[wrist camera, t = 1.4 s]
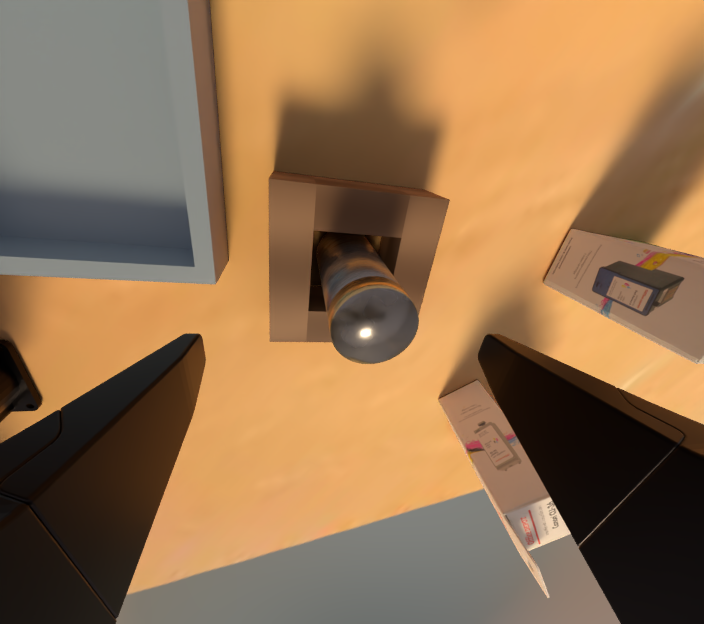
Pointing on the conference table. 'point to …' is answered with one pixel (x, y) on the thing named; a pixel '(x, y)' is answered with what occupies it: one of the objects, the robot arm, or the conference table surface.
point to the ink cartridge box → (504, 471)
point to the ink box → (636, 288)
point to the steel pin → (363, 300)
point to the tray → (110, 141)
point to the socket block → (344, 217)
